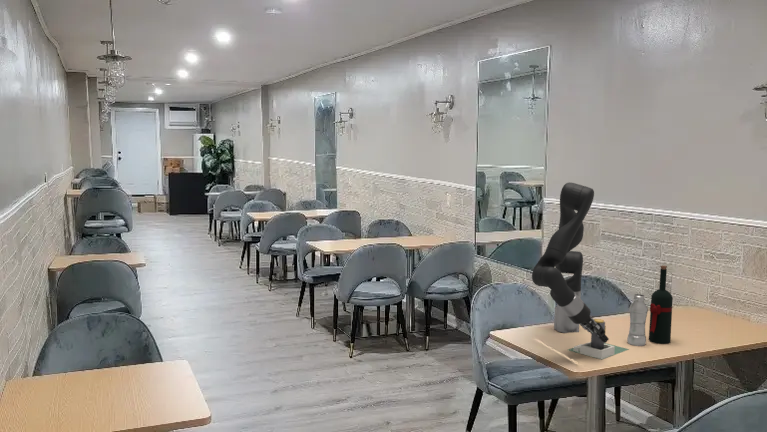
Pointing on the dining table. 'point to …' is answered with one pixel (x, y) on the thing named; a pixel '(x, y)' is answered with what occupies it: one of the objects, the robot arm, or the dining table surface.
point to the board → (597, 350)
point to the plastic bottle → (637, 321)
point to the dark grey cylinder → (595, 340)
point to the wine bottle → (661, 312)
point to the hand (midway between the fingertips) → (602, 338)
